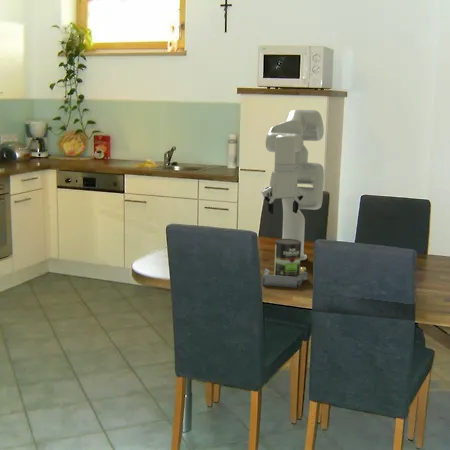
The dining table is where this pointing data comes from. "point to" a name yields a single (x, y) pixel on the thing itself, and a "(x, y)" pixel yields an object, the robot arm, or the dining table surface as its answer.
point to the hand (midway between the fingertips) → (282, 212)
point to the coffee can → (287, 257)
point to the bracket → (283, 280)
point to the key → (302, 269)
